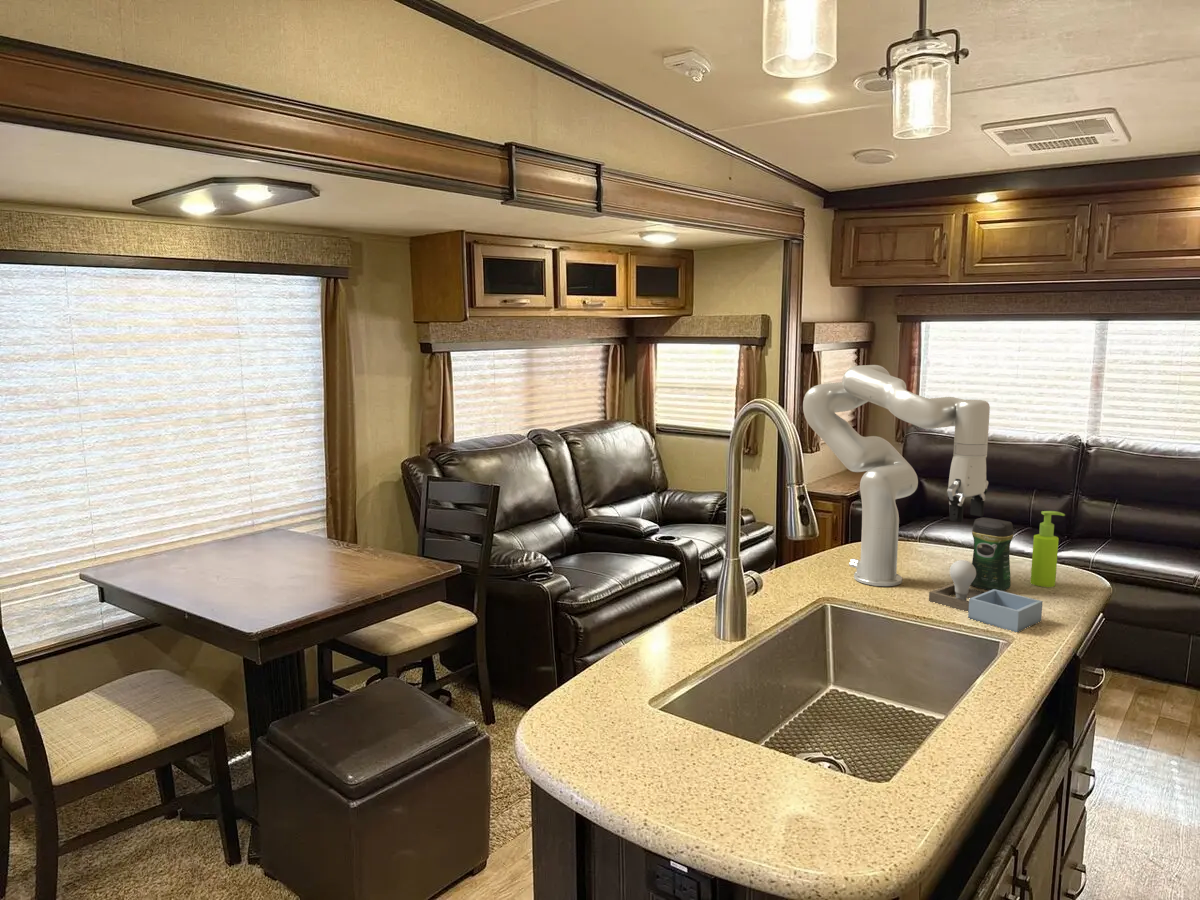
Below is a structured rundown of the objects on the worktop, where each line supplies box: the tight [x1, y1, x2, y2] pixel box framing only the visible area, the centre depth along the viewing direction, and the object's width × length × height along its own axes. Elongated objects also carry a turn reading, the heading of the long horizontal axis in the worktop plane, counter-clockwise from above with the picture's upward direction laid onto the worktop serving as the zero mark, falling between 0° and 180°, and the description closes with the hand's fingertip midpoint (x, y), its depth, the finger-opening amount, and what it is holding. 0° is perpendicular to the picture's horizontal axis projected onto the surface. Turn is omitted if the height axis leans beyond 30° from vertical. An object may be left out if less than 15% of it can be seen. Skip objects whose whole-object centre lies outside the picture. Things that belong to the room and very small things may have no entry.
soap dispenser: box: [1029, 510, 1066, 588], centre depth 219 cm, size 6×7×20 cm
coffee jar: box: [970, 517, 1014, 592], centre depth 217 cm, size 10×8×19 cm
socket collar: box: [928, 583, 986, 612], centre depth 206 cm, size 11×11×2 cm
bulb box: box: [967, 589, 1044, 633], centre depth 193 cm, size 12×12×5 cm
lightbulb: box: [949, 559, 976, 601], centre depth 205 cm, size 6×6×11 cm
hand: (966, 518), depth 203 cm, fingers open, 9 cm apart
